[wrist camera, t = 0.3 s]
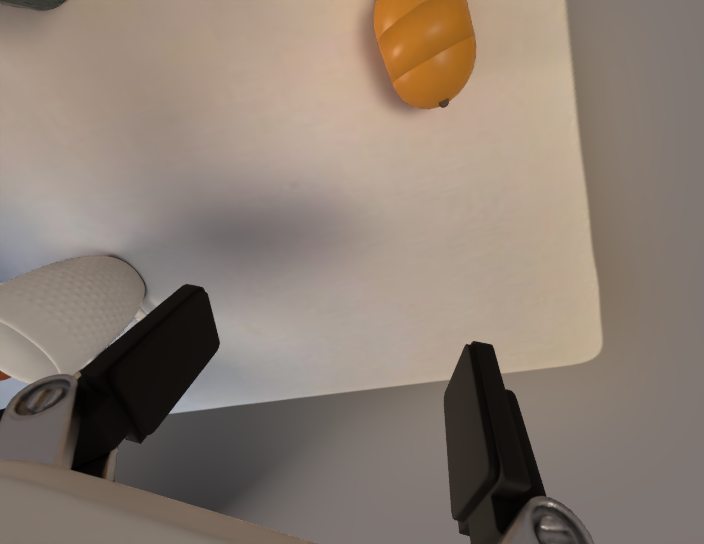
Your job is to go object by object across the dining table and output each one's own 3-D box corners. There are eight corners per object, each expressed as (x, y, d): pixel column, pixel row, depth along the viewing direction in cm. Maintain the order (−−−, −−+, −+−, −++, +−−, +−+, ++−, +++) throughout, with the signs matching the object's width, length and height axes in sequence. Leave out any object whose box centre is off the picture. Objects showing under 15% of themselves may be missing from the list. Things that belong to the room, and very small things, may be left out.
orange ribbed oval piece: (366, 3, 19) (351, -22, 15) (445, -53, 17) (453, -101, 13) (408, 121, 22) (405, 129, 18) (478, 85, 20) (494, 84, 16)
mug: (198, 308, 39) (112, 393, 28) (163, 337, 44) (78, 419, 33) (98, 223, 34) (-51, 286, 23) (72, 267, 40) (-60, 335, 29)
